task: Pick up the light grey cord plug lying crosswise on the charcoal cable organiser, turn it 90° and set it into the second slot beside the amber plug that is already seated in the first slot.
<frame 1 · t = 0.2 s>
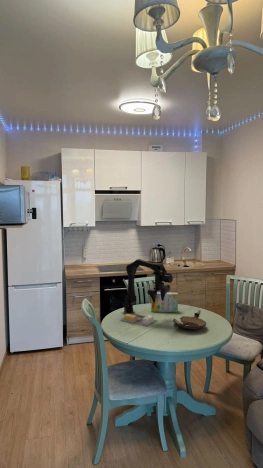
hand: (158, 301, 230), 14 cm above the table, tool pointing down, fingers open, 9 cm apart
oil lamp: (192, 327, 220), on the table
amber plug: (130, 320, 227), point 1 cm above the table, touching organiser
snack box: (164, 311, 255), on the table
organiser: (139, 322, 228), on the table
grey plug: (148, 322, 223), point 1 cm above the table, touching organiser
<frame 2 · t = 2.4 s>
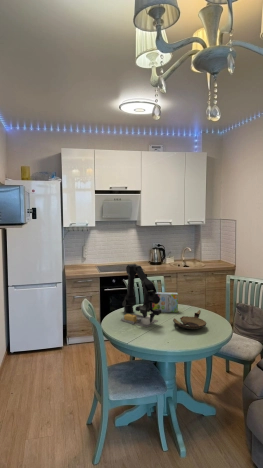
hand: (148, 322, 223), 2 cm above the table, tool pointing down, fingers closed on grey plug, 4 cm apart
grey plug: (148, 322, 223), point 1 cm above the table, touching gripper, organiser
everything else where it was.
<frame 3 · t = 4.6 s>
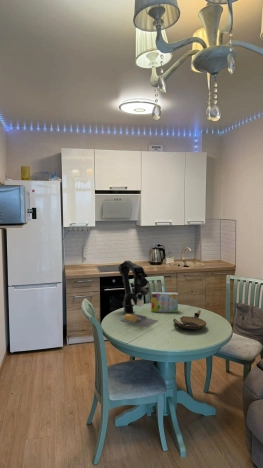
hand: (137, 304, 233), 12 cm above the table, tool pointing down, fingers closed on grey plug, 4 cm apart
grey plug: (137, 304, 233), point 11 cm above the table, touching gripper
everything else where it was.
when the fingers open (3 cm above the table, at t = 7.1 s): grey plug drops 2 cm, resting on organiser.
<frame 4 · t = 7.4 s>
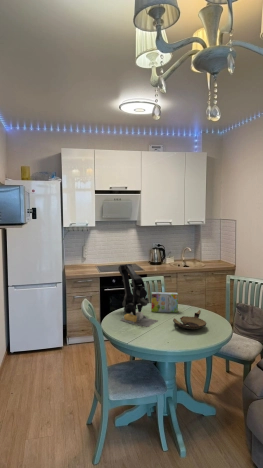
hand: (137, 315, 234), 3 cm above the table, tool pointing down, fingers open, 6 cm apart
grey plug: (137, 317, 234), point 1 cm above the table, touching organiser
everything else where it was.
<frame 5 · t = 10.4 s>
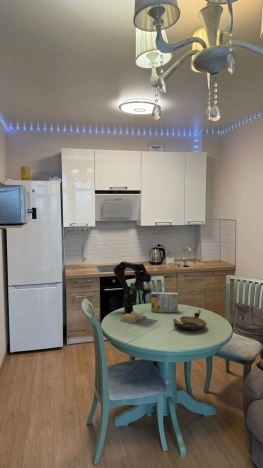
hand: (139, 300, 238), 13 cm above the table, tool pointing down, fingers open, 6 cm apart
nothing on the table moved.
at the end: grey plug 0.5 cm from the target spot on the organiser, point 1.5 cm above the organiser's base; grey plug tilted 0°; amber plug moved 0.0 cm from its start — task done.
